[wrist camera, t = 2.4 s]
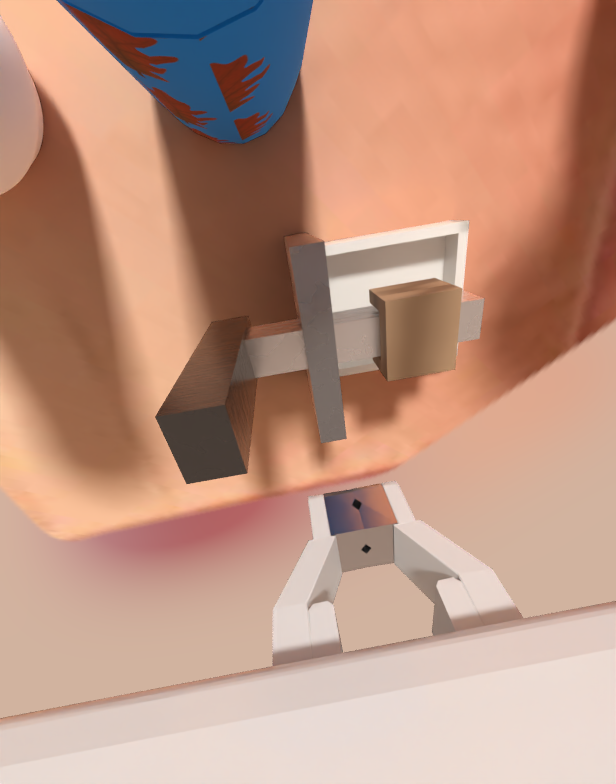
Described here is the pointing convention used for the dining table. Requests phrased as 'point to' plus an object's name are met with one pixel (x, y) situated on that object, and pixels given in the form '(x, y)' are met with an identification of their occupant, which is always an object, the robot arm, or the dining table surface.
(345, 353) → the shaft
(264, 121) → the thermos
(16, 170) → the vase
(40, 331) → the dining table surface
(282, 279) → the dining table surface
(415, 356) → the block
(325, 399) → the bearing wall
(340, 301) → the tray
